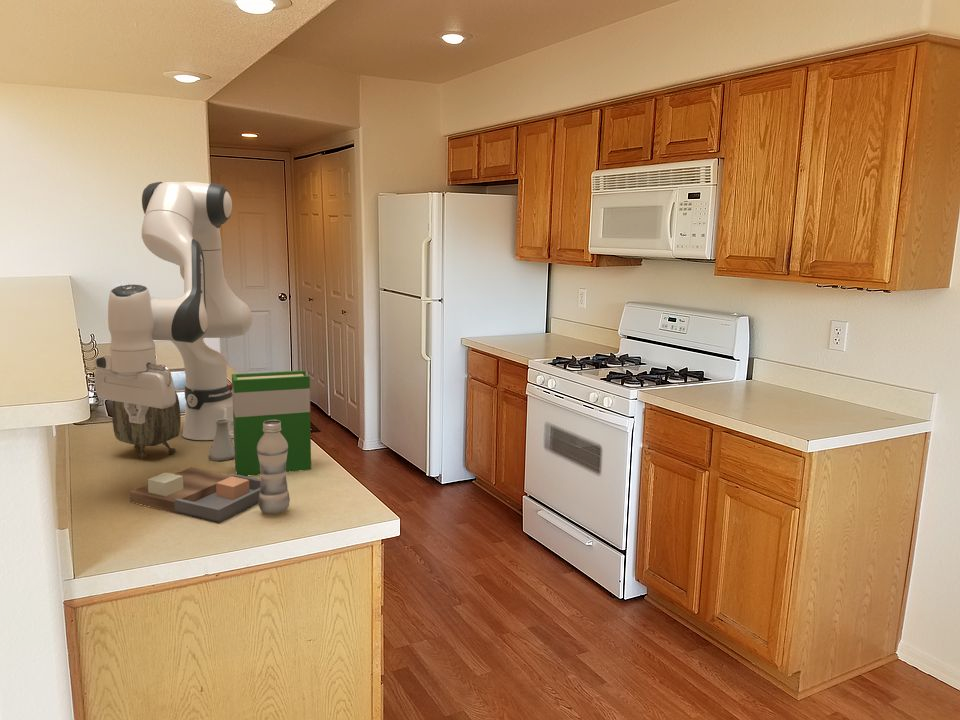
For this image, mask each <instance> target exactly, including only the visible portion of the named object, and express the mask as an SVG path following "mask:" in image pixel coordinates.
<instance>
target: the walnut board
mask: <svg viewBox="0 0 960 720" xmlns="http://www.w3.org/2000/svg"><path fill="white" fill-rule="evenodd" d="M174 474H176V475H180V476H183V489H182V490H180V491H177V492H175V493H173V494H170V495H168V496H162V495H157V494H153V493H149V492H148V483H147V484H145V485H143V486H140V487H137V488H134V489H132V490H129V503H131V502H134V503H133V504H135V503H138V504H137V505H139V504H142V505H141V506H143V505H146V506H145V507H147V506H150V507H149V508H151V507H154V508H153V509H156V508H157V510H160V509H161V510H160V511H164V510H165V511H164V512H168V511H169V512H168V513H172V512H173V513H174V514H176V513H175V503H174V500H175V499H177V498H179V499H184V500H188V501H192V502H195V501H197V500H199V499H201V498H204V497H206V496H208V495H210V494H213V493H215V492H216V483H217V482H220V481H222V480H224V479H227V478H229V477H231V475H232V474H226V473H222V472H217V471H212V470H207V469H202V468H196V467H192V466H191V467H189V468H186V469H184V470H181V471H179V472H176V473H174ZM173 513H172V514H173Z"/></svg>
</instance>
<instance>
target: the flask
mask: <svg viewBox="0 0 960 720" xmlns="http://www.w3.org/2000/svg"><path fill="white" fill-rule="evenodd" d="M215 422H216V425H217V429H216V435H215V438H214V440H212V441H213V442H212V444H211V448H210V450H209V453H208V455H207V457H208V458H209V460H212V461H219V462H221V461H223V462H224V461H228V460H233V459H235V450H234V442H233V440H232V438H230V435H229V431H228V422H229V420H228V419H218V420H215Z"/></svg>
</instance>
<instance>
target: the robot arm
mask: <svg viewBox="0 0 960 720" xmlns="http://www.w3.org/2000/svg"><path fill="white" fill-rule="evenodd" d="M141 194H142V195H141V206H142V211H143V214H144V216H143V220H142V226H141V239H142V242H143V244H144V245H145V247H146V248H147V250H148V251H149V252H150V253H152V254H153V255H154V256H155V257H157V258H159V259H161V260H163V261H166V262H169V263H172V264H175V265H176V266H179V273H180V277H181V278H182V279H183V289H184V290H183V292H184V293H183V295H182V296H180V297H174V298H173V297H154V296H153V297H151V295H150V291H149V288H148V287H147V286H145V285H141V284H125V285H120V286H116V287H114V288H113V289H111V290H110V291H109V296H108V304H107V306H108V307H107V323H108V324H107V325H108V326H107V327H108V331H109V334H110V337H111V339H110V344H109V351H110V352H109V353H107V354H104V355H101V356H97V357H94V358H93V367H95V368H96V369H95V371H94V386H95V387H94V388H95V392H96V393H95V394H96V395H97V396H98V399H103V400H107V401H111V402H112V401H118V402H124V408H125V410H126V412H127V413H128V415H129V422H131V423H137V424H142V423H145V415H146V413H147V411H148V408H149V407H154V408H160V409H164V408H168V407H171V406H173V405H174V404H175V402H176V395H175V391H176V389H175V384H174V379H173V376H172V373H171V371H170V370H169V368H167V366H166V365H164V364H157V357H156V344H155V341H171V343H173V345H174V346H175V347H176V348H177V349H178V352H179V353H180V355H181V358H182V361H183V365H184V366H183V367H184V374H185V386H184V399H185V401H186V403H185V408H184V409H185V410H184V421H183V423H184V424H183V426H182V437H183V438H185V439H188V440H193V441H194V440H195V441H214V438H215V435H216V429H217V425H216V422H215V420H218V419H228V420H229V422H228V431H229V435H230V438H231V439H234V423H233V396H232V383H231V384H228V367H227V359H226V358H225V356H224V355H223V354H222V353H220V352H219V351H217V350H215V349H213V348H211V347H209V346H208V345H206V343H205V340H204V339H211V338H212V339H215V338H216V339H229V338H235V337H240V336H244V335H245V336H246V334H247V333H248V332H249V330H251V329H250V328H251V327H252V325H253V313H252V310H251V309H250V307H249V305H247V303H246V302H245V301H243V300H241V298H239V297H238V296H237V295H236V294H235V293H234V292H233V291H232V289H231V288H230V286H229V284H228V282H227V280H226V276H225V271H224V264H223V249H222V247H223V246H222V238H221V237H222V235H221V231H220V228H221V227H222V225H224V224H226V223H227V222H228V221H229V219H230V217H231V215H232V214H231V213H232V210H233V199H232V197H231V194H230V191H229V190H228V188H227V187H225V185H222V184H219V183H214V182H211V183H206V182H200V181H188V180H187V181H166V182H162V181H156V182H151V183H150V184H148V185H147V186H146V187H145V188H144V189H143V192H142V193H141ZM135 406H136V408H135ZM136 409H138V412H137V411H136Z"/></svg>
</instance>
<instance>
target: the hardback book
mask: <svg viewBox="0 0 960 720" xmlns="http://www.w3.org/2000/svg"><path fill="white" fill-rule="evenodd" d="M310 377H311V376H310V375H306V370H287V371H269V372H268V371H267V372H266V371H265V372H250V373H249V372H247V373H246V372H245V373H231V384H232V390H231V392H232V396H233V423H234V438H233V445H234V450H235V458H234V469H235V468H236V469H235V473H236V472H237V473H236V474H237V475H242V476H247V477H249V476H248V475H254V476H259V475H258V474H260V464H259V459H258V454H257V444H258V442H259V440H260V439H261V437H262V436H263V434H264V432H263V422H264V421H268V420H279V421H281V431H280V433H281V434H282V435H283V437H284V438H285V440H286V441H287V444H288V452H287V461H286V473H290V472H289V471H293V472H299V470H303V471H310V469H311V470H312V441H311V440H312V439H311V436H312V435H311V434H312V432H311V386H310V385H311V379H310Z"/></svg>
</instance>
